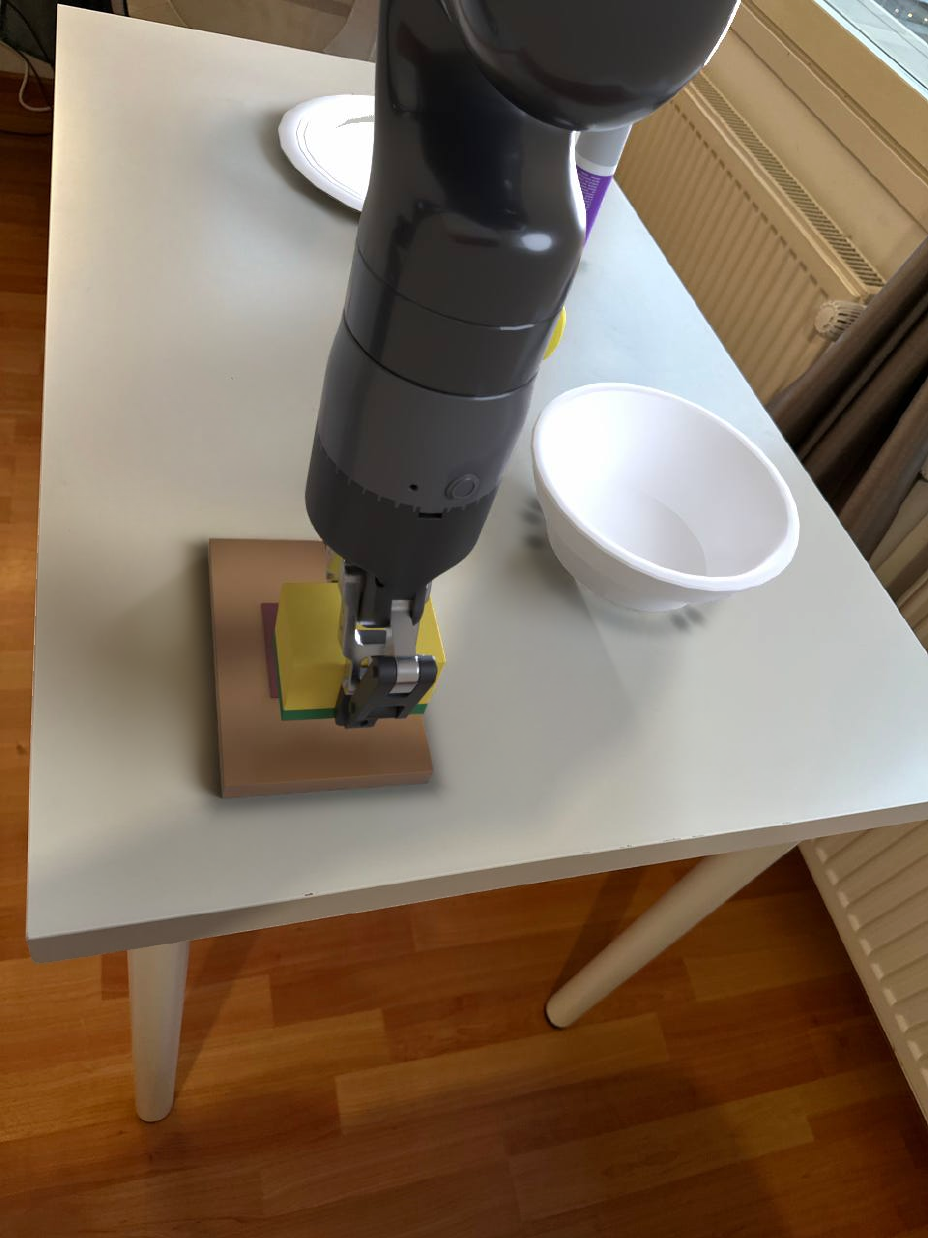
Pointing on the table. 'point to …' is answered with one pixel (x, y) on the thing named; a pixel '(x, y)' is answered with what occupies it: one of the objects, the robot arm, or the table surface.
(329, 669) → the sponge
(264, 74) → the table surface
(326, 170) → the plate
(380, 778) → the board
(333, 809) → the table surface
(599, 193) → the container
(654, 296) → the table surface
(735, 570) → the bowl
